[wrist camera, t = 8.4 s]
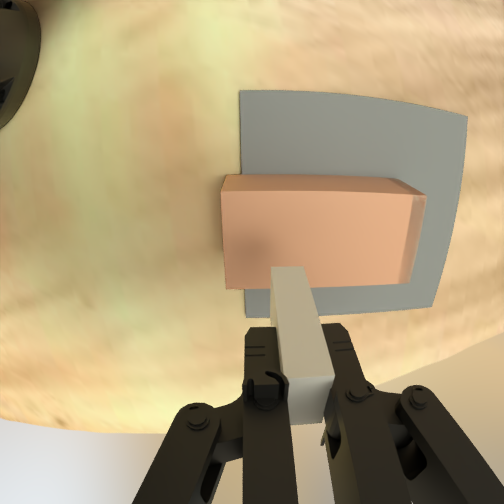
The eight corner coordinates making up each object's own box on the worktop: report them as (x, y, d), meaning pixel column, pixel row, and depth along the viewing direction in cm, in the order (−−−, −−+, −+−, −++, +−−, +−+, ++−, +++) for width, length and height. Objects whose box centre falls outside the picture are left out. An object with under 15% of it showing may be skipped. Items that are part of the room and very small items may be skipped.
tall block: (220, 191, 19) (427, 195, 19) (226, 174, 23) (397, 178, 23) (226, 289, 22) (409, 283, 22) (230, 256, 26) (386, 254, 26)
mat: (240, 91, 21) (239, 90, 20) (463, 115, 21) (467, 116, 20) (245, 314, 30) (245, 317, 29) (429, 304, 30) (431, 307, 29)
